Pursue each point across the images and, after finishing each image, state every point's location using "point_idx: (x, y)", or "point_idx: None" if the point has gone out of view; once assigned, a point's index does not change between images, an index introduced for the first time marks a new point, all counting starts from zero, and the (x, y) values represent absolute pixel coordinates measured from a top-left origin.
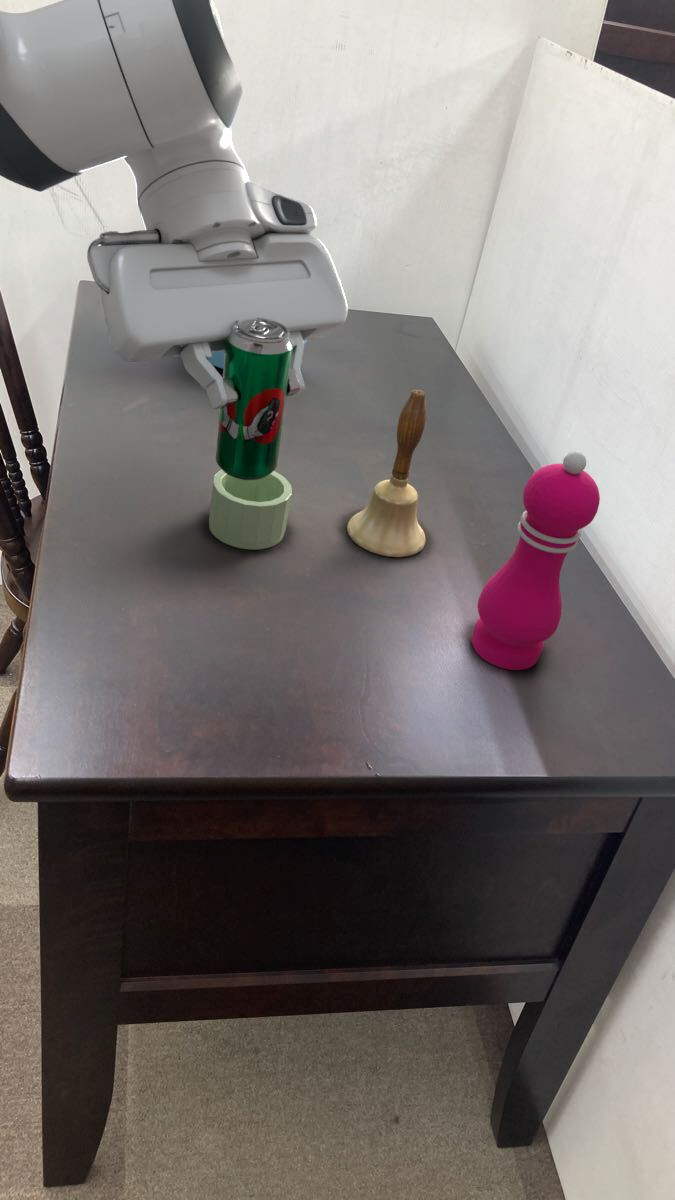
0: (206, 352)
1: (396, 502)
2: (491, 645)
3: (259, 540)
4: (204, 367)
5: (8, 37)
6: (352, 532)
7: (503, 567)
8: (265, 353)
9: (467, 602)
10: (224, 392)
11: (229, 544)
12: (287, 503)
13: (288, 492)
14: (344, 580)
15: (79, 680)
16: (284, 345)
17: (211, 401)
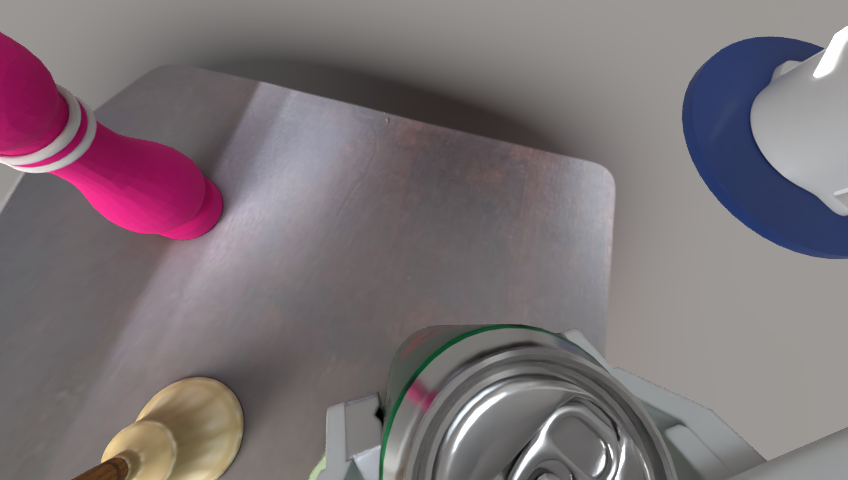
0: (692, 440)
1: (159, 425)
2: (210, 188)
3: None
4: (667, 391)
5: None
6: (237, 434)
7: (137, 190)
8: (530, 330)
9: (176, 281)
10: (576, 343)
11: None
12: (324, 455)
13: (315, 475)
14: (296, 342)
15: (575, 245)
16: (449, 369)
17: None
